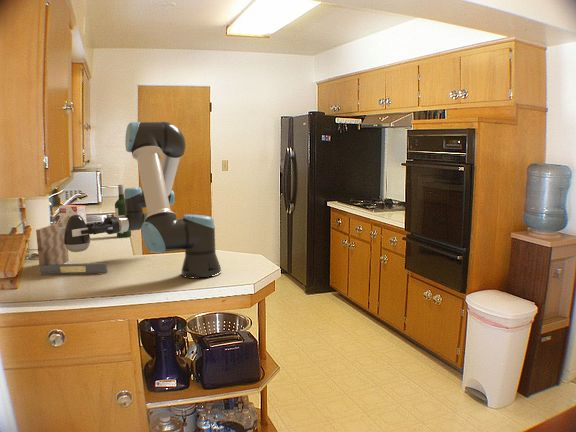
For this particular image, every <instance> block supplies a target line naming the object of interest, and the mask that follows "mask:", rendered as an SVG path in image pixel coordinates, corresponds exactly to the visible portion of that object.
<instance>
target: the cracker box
mask: <svg viewBox="0 0 576 432" xmlns="http://www.w3.org/2000/svg"><path fill="white" fill-rule="evenodd" d="M58 211H59V220H60V221H59V222H64V221H66V224H67V221H68V219H69V218H70V216H72V215H80V216H81V217H82V218H83V220H84V221H85V223H86V224H88V222H87V209H86V205H78V204H77V205H75V204H64V205H62V204H61V205H58Z"/></svg>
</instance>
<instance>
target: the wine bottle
mask: <svg viewBox="0 0 576 432" xmlns="http://www.w3.org/2000/svg"><path fill="white" fill-rule="evenodd" d="M117 187H118V199H117V200H116V202H115V203H114V212H115V213H114V214H115V215H114V217H115V216H120V215H126V210H125V199H124V191H125V190H124V184H117ZM116 237H117V238H119V239H120V238H122V239H123V238H125V239H126V238H130V237H132V231H127V232H123V234H121V233H116Z"/></svg>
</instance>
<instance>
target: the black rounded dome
mask: <svg viewBox="0 0 576 432" xmlns="http://www.w3.org/2000/svg"><path fill="white" fill-rule="evenodd" d="M82 228H87V226H86V223H85V221H84V220H83V218H82V217H81V216H80V215H72V216H70V218H69V219H68V221H67V224H66V228H65V233H64V244H65V246H66V248H67V249H68V252H71V253H82V252H84V251H87V249H88V248H89V247H90V243H91V234H89V233H88V235H81V236H75V237H72V230H75V229H82Z"/></svg>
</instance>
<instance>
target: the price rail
mask: <svg viewBox="0 0 576 432" xmlns="http://www.w3.org/2000/svg"><path fill="white" fill-rule="evenodd" d="M40 268H41V274H40V276H67V275H98V274H97V273H106V274H108V273H109V272H108V263H107V262H93V263H91V262H90V263H89V262H88V263H64V264H51V265H41V266H40V267H39V269H40ZM107 272H108V273H107Z"/></svg>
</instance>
